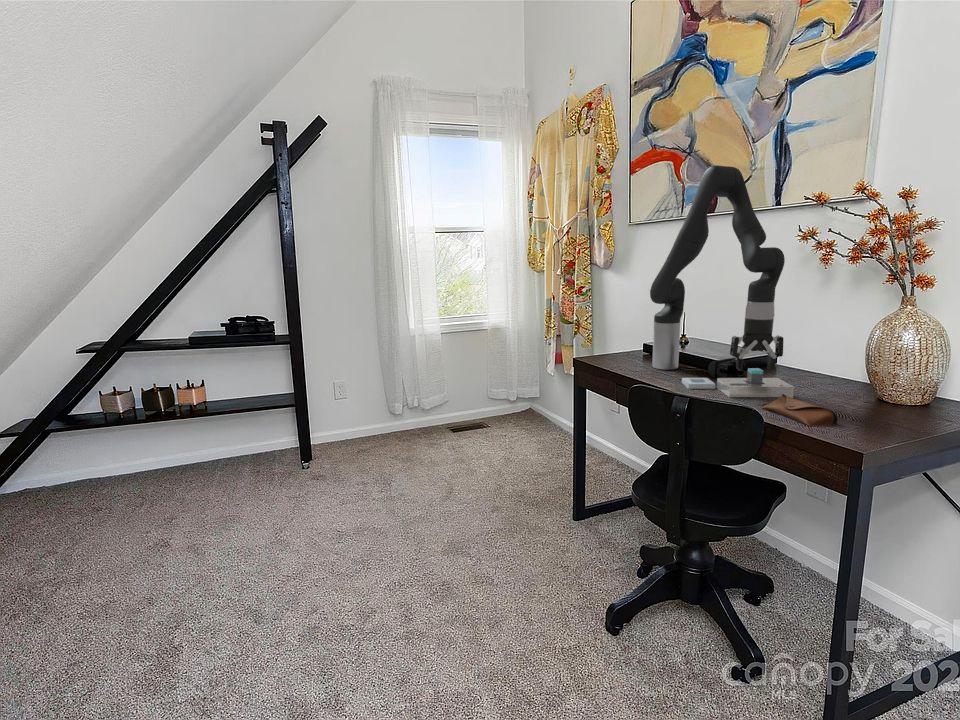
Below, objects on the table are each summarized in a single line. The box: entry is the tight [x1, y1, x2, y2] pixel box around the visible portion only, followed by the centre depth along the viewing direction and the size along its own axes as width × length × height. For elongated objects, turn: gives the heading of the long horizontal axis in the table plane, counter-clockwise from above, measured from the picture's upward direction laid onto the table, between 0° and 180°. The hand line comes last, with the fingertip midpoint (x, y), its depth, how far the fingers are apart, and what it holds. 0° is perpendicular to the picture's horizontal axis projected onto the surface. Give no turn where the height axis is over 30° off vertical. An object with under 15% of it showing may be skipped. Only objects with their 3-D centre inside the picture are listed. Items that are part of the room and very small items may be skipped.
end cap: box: [707, 357, 746, 378], centre depth 184 cm, size 10×7×7 cm
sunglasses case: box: [761, 394, 838, 428], centre depth 144 cm, size 18×7×7 cm
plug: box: [746, 367, 764, 384], centre depth 163 cm, size 3×3×7 cm
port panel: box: [716, 377, 795, 398], centre depth 164 cm, size 18×11×4 cm, turn 84°
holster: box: [681, 377, 716, 390], centre depth 173 cm, size 8×8×2 cm
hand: (754, 370), depth 163 cm, fingers open, 8 cm apart
